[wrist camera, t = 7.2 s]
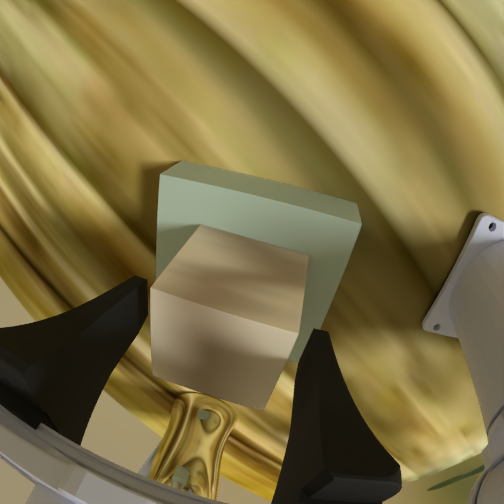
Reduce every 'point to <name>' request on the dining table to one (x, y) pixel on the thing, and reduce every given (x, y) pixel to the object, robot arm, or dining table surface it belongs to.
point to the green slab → (261, 226)
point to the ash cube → (227, 315)
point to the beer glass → (192, 445)
